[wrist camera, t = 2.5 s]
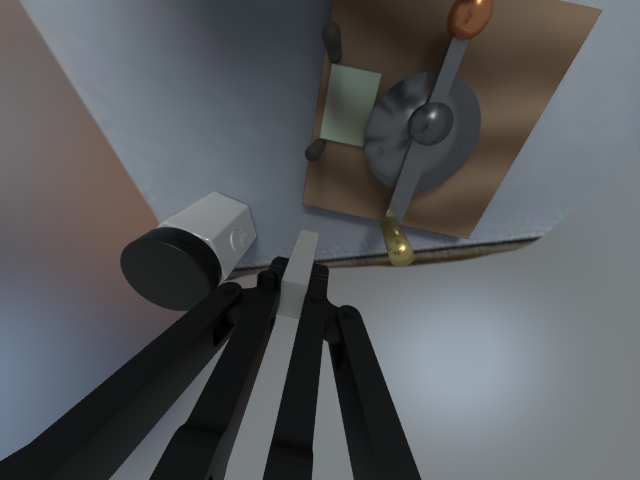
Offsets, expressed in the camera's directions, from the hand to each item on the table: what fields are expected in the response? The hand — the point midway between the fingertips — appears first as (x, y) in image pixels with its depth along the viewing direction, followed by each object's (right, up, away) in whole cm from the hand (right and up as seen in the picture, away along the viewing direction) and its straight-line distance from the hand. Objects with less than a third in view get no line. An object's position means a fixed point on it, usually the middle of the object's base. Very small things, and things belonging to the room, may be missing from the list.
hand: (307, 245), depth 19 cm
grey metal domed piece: (+10, +10, +3) cm, 15 cm away
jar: (-12, +3, +12) cm, 17 cm away
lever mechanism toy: (+11, +12, +4) cm, 16 cm away
